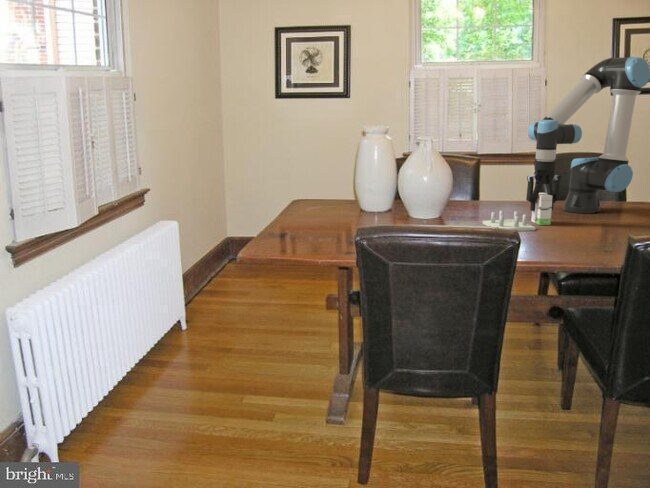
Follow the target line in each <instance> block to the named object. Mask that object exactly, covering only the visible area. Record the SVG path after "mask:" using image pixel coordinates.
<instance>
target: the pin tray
mask: <svg viewBox="0 0 650 488" xmlns="http://www.w3.org/2000/svg"><path fill="white" fill-rule="evenodd" d="M496 213H497V212H496V211H494V212H493V211H492V212H491V216H490V217H491V218H490V220H482V225H485V226H487V227H489V226H491V227H499V228H506V229H514V230H517V231H516V232H527V231H528V232H531V231H536V226H533V225H531V224H528V214H522V220H521V221H520V216H519V211H515V210H514V211H513V218H512V219H505V215H504V213H505V212H504V210H499V213H498V215H499V216H498V219H496V216H497V214H496ZM491 227H490V228H491Z"/></svg>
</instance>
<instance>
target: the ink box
mask: <svg viewBox="0 0 650 488" xmlns="http://www.w3.org/2000/svg"><path fill="white" fill-rule="evenodd" d="M536 203H538V208H537V220H534V219H532V217H531V219H530V220H531V221H530V222H532V223H534V224H536V225H539V226H551V225H552V211H553V210H552V196H551V195H549V194H547V192H539V195H538V198H537V201H536Z"/></svg>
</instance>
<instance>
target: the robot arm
mask: <svg viewBox="0 0 650 488" xmlns="http://www.w3.org/2000/svg"><path fill="white" fill-rule="evenodd" d="M649 81H650V64H648V61H647V60H646V59H644V58H642V57H639V56H638V57H637V56H627V57H608V58H606V59H603V60H601V61H600V62H597V63H596V64H594V65H593V66H592V67H590V69H588V70H587V71H586V72H585V73H584V74H583V75H582V76H581V78H580V81H579V82H578V83H577V84H576V85H575V87H573V88H572V90H570V91H569V92H568V94H566V95H565V96H564V97H563V99H561V101H559V102H558V104H556V106H555V107H553V109H551V110H550V111H549V112H548V113H547V114H546V115H545V117H543V118H542V119H541V120H539V121H537V122H536V121H535V122H532V123H531V124H529V126H528V128H527V129H528V130H527V134H528V137H529V139H530V140H532V141H535V142H536V145H535V146H536V147H535V148H536V150H535V161H534V173H533V174H532V175H527V176H526V179H527V187H526V197H525V198H526V199H525V200H526V201H527V202H530V206H529V207H530V211H531V218H532V219H534V220H537V208H538V203H536V201H537V198H538V195H539V193H541V192H540V191H541V188H542V187H543V185H545V189H546V194H549V195H551V196H552V211H553V210H554V203H556V202H557V201H559V197H560V183H561V182H560V181H561V179H562V176H561V175H559V174H556V173H555V169H556V161H555V160H556V158H557V147H558V146H557V145H573V144H578V143H579V141H581V139H582V137H583V130H582V127H580V125H578V124H573V123H570V124H566V123H567V121H569V119H570V118H571V117H572V116H573V115H574V114H576V113H577V111H579V110H580V108H581V107H582V106H584V105H585V104H586V103H587V102H588V100H589V99H590V98H591V97H593V95H595V94H598V93H600V92H601V91H602V90H603V89H605V88H609V91H610V92H611V94H612V99H611V106H610V112H609V117H608V124H607V131H606V137H605V143H604V148H603V153H602V154H601V155H599V156H598V157H597V156H596V157H579V158H574V159H572V161H571V164H570V170H569V171H570V173H569V186H568V194H567V196H566V198H565V201H564V203H563V207H562V208H563V211H565V212H570V213H576V214H596V213H595V212H598V213H600V212H601V203H600V200H599V195H598V190H600V191H606V192H609V193H610V192H611V193H613V192H614V193H619V192H620V193H621V192H623V191H625V190H626V189H627V188H628V187H629V186H630V183H631V182H632V180H633V176H634V175H633V174H634V172H633V168H632V166H631V165H629V159H628V157H627V155H626V154H627V149H628V144H629V137H630V132H631V131H630V130H631V126H632V119H633V114H634V110H635V109H634V107H635V103H636V97H637V96H638V95H639V94H640V93H642V88H644V87H645V86H647V84H648V83H649ZM552 181H553V183H552ZM599 211H600V212H599Z"/></svg>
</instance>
